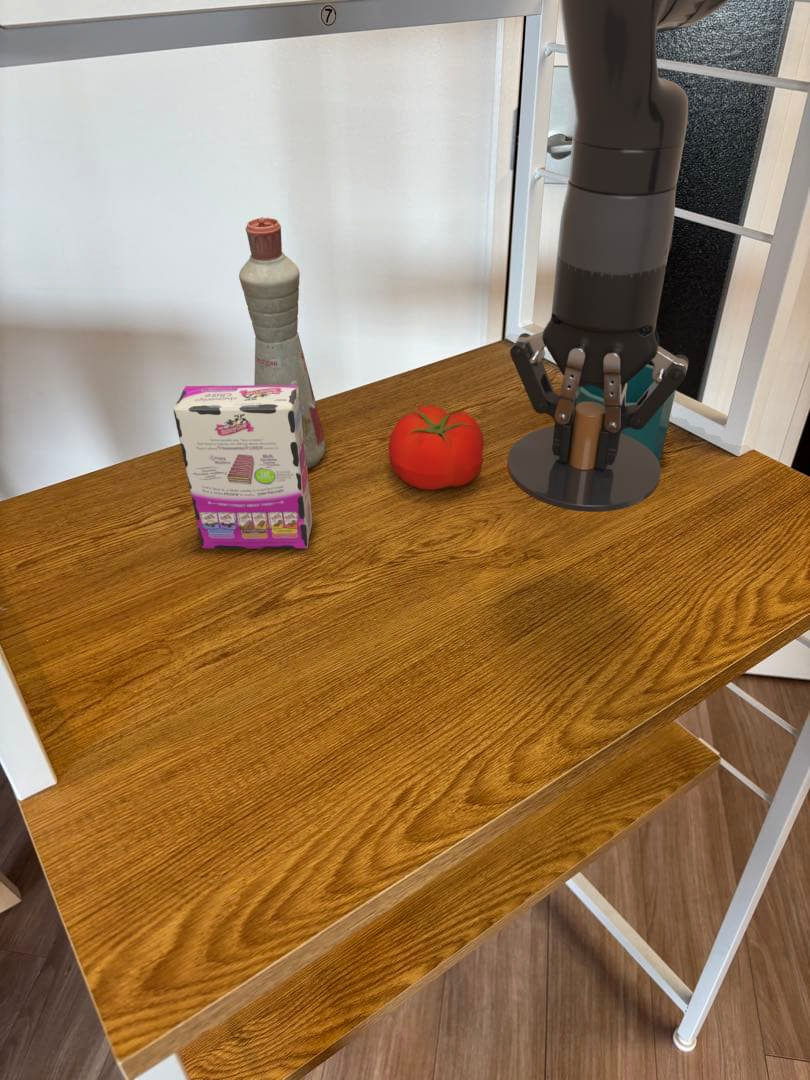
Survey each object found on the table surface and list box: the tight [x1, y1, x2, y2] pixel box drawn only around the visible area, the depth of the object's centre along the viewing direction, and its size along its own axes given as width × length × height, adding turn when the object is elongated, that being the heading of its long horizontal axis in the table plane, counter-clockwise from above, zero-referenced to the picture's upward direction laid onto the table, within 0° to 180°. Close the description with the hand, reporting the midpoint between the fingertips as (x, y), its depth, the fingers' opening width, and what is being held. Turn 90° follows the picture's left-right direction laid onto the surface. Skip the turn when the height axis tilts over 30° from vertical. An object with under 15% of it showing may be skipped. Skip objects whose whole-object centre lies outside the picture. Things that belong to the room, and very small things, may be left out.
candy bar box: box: [173, 384, 314, 550], centre depth 82 cm, size 11×5×16 cm, turn 89°
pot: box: [574, 363, 677, 464], centre depth 96 cm, size 11×17×10 cm
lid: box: [506, 402, 662, 513], centre depth 67 cm, size 12×12×6 cm
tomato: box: [387, 405, 485, 491], centre depth 93 cm, size 11×11×8 cm
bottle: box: [238, 216, 326, 470], centre depth 90 cm, size 9×9×28 cm
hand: (583, 461), depth 68 cm, fingers closed on lid, 2 cm apart
